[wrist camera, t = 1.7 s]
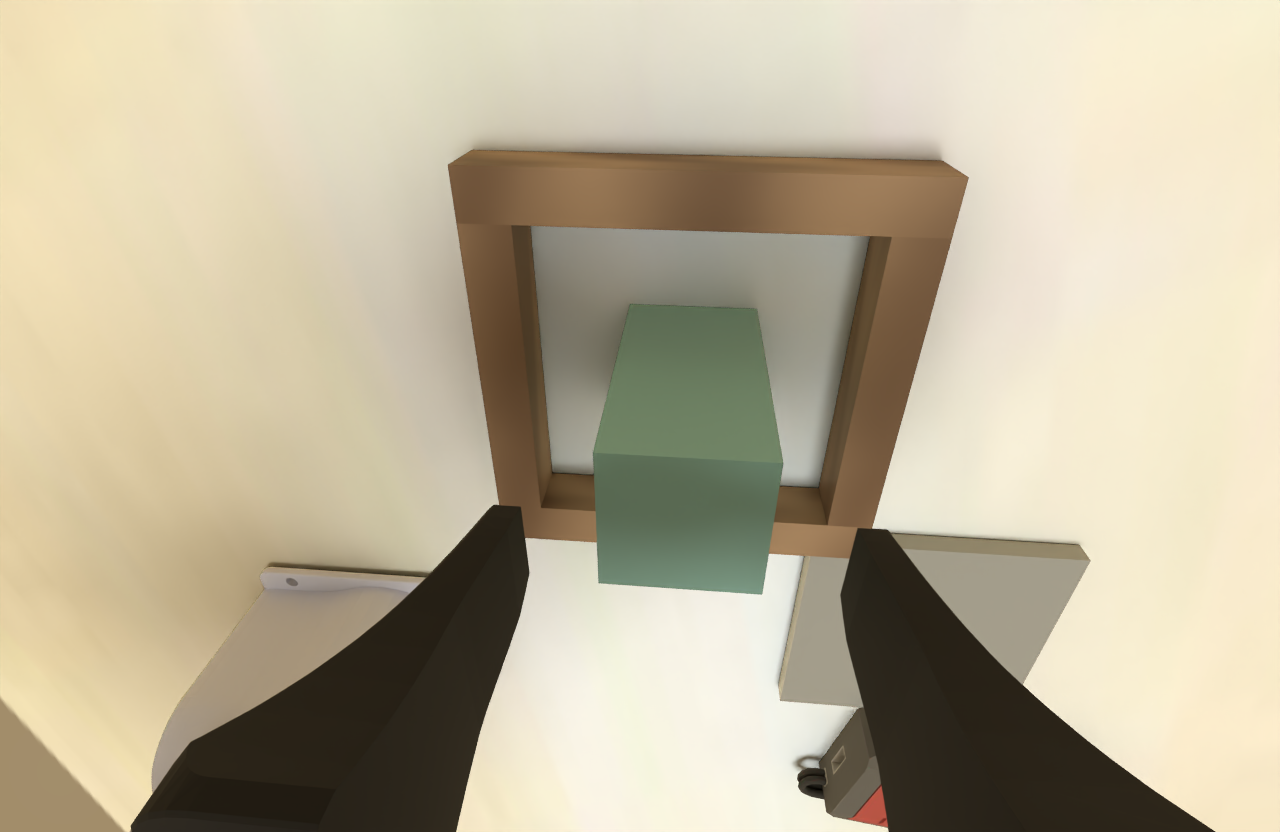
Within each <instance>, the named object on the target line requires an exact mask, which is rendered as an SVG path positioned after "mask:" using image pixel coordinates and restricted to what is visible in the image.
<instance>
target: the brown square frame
mask: <svg viewBox="0 0 1280 832" xmlns="http://www.w3.org/2000/svg"><path fill="white" fill-rule="evenodd" d="M448 170H449V177H450V183H451V190H452V196H453V203H454V210H455V216H456V223H457V229H458V236H459V243H460V249H461V256H462V262H463V269H464V276H465V282H466V289H467V295H468V302H469V309H470V315H471V322H472V328H473V335H474V341H475V348H476V355H477V361H478V368H479V374H480V381H481V388H482V394H483V401H484V407H485V414H486V421H487V427H488V434H489V440H490V447H491V454H492V460H493V467H494V473H495V480H496V487H497V493H498V500H499V505H504V506H519V507H521V511H522V519H523V527H524V535H525V538H537V539H553V540H568V541H584V542H597V533H596V510H595V487H594V476H593V475H576V474H559V473H552V466H551V454H550V443H549V432H548V421H547V409H546V398H545V387H544V376H543V364H542V353H541V342H540V331H539V319H538V308H537V297H536V285H535V274H534V263H533V252H532V240H531V229H530V226H555V227H587V228H620V229H653V230H685V231H718V232H751V233H784V234H816V235H849V236H870V240H869V245H868V250H867V255H866V259H865V264H864V269H863V274H862V279H861V284H860V289H859V294H858V299H857V303H856V308H855V313H854V318H853V323H852V328H851V333H850V338H849V343H848V347H847V352H846V357H845V362H844V367H843V372H842V377H841V382H840V387H839V391H838V396H837V401H836V406H835V411H834V416H833V421H832V426H831V431H830V435H829V440H828V445H827V450H826V455H825V460H824V465H823V470H822V474H821V479H820V484H819V488H802V487H785V486H780V487H779V493H778V499H777V505H776V511H775V518H774V524H773V530H772V536H771V542H770V549H769V554H784V555H800V556H815V557H831V558H846V559H850V555H851V551H852V547H853V544H854V540H855V536H856V532H857V528H869V529H872V526H873V523H874V519H875V516H876V512H877V508H878V505H879V501H880V497H881V494H882V490H883V486H884V483H885V479H886V476H887V472H888V468H889V465H890V461H891V457H892V454H893V450H894V447H895V443H896V439H897V436H898V432H899V428H900V425H901V421H902V418H903V414H904V410H905V407H906V403H907V399H908V396H909V392H910V389H911V385H912V381H913V378H914V374H915V370H916V367H917V363H918V360H919V356H920V352H921V349H922V345H923V341H924V338H925V334H926V331H927V327H928V323H929V320H930V316H931V312H932V309H933V305H934V302H935V298H936V294H937V291H938V287H939V283H940V280H941V276H942V273H943V269H944V265H945V262H946V258H947V254H948V251H949V247H950V244H951V240H952V236H953V233H954V229H955V225H956V222H957V218H958V215H959V211H960V207H961V204H962V200H963V196H964V193H965V189H966V186H967V182H968V178H969V177H967V176H966V175H964V174H962V173H961V172H959V171H958V170H956V169H955V168H953V167H952V166H950V165H949V164H947V163H946V162H944V161H932V160H887V159H842V158H798V157H753V156H709V155H664V154H620V153H575V152H531V151H486V150H471V151H469V152H468V153H466V154H465V155H463V156H461V157H460V158H458V159H457V160H455V161H453V162H452V163H450V164H449V165H448Z"/></svg>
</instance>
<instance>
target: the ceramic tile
mask: <svg viewBox="0 0 1280 832" xmlns="http://www.w3.org/2000/svg"><path fill="white" fill-rule="evenodd" d="M892 536H893V537H894V538H895V540H896V541H897V542H898V544H899V545H900V546H901V548H902V549H903V550H904V551H905V553H906V554H907V555H908V557H909V558H910V559H911V561H912V562H913V563H914V565H915V566H916V567H917V568H918V570H919V571H920V572H921V574H922V575H923V576H924V577H925V579H926V580H927V581H928V582H929V584H930V585H931V586H932V587H933V589H934V590H935V591H936V592H937V594H938V595H939V596H940V597H941V598H942V600H943V601H944V602H945V603H946V604H947V605H948V607H949V608H950V609H951V610H952V611H953V613H954V614H955V615H956V616H957V617H958V619H959V620H960V621H961V622H962V623H963V624H964V625H965V626H966V628H967V629H968V630H969V631H970V632H971V633H972V634H973V635H974V636H975V637H976V639H977V640H978V641H979V642H980V643H981V644H982V645H983V646H984V647H985V648H986V649H987V650H988V652H989V653H990V654H991V655H992V656H993V657H994V658H995V659H996V660H997V661H998V662H999V663H1000V664H1001V665H1002V666H1003V667H1004V668H1005V669H1006V670H1007V671H1008V672H1010V673H1011V674H1012V675H1013V676H1014V677H1015V678H1016V679H1017V680H1018V681H1019V682H1020V683H1021V684H1022V685H1023V683H1024V681H1025V679H1026V677H1027V676H1028V674H1029V672H1030V670H1031V668H1032V666H1033V665H1034V663H1035V661H1036V659H1037V657H1038V656H1039V654H1040V652H1041V650H1042V648H1043V646H1044V645H1045V643H1046V641H1047V639H1048V637H1049V636H1050V634H1051V632H1052V630H1053V628H1054V626H1055V625H1056V623H1057V621H1058V619H1059V617H1060V616H1061V614H1062V612H1063V610H1064V608H1065V606H1066V605H1067V603H1068V601H1069V599H1070V597H1071V596H1072V594H1073V592H1074V590H1075V588H1076V586H1077V585H1078V583H1079V581H1080V579H1081V577H1082V576H1083V574H1084V572H1085V570H1086V568H1087V566H1088V565H1089V563H1090V559H1089V558H1088V556H1087V555H1086V553H1085V552H1084V551H1083V549H1082V548H1081V546H1080V545H1069V544H1052V543H1036V542H1020V541H1004V540H988V539H972V538H955V537H939V536H923V535H907V534H892ZM848 563H849V559H846V558H831V557H815V556H805V558H804V562H803V567H802V572H801V577H800V582H799V587H798V592H797V597H796V602H795V606H794V611H793V616H792V621H791V626H790V631H789V636H788V641H787V646H786V650H785V655H784V660H783V665H782V670H781V675H780V680H779V685H778V687H779V696H780V701H789V702H801V703H814V704H826V705H839V706H851V707H863V703H862V699H861V695H860V692H859V688H858V684H857V680H856V677H855V673H854V669H853V665H852V661H851V657H850V653H849V649H848V645H847V641H846V635H845V628H844V621H843V613H842V605H841V597H840V593H841V590H842V586H843V582H844V578H845V574H846V570H847V567H848ZM863 708H864V707H863Z"/></svg>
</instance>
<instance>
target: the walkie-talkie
mask: <svg viewBox="0 0 1280 832" xmlns="http://www.w3.org/2000/svg"><path fill="white" fill-rule="evenodd" d="M819 767H820V769H819V768H807V769H805V770H802V771H801V772H800V773H799V774H798V777H797V780H798V782H799V785H798V788H799V789H800V791H801V792H802V793H804V794H806V795H809V796H811V797H815V798H820V799H824V800H825V807H826V812H827V813H828V814H830V815H832V816H833V817H838V818H842V819H847V820H852V821H857V822H862V823H867V824H872V825H877V826H882V827H887V828H888V823H887V817H886V810H885V804H884V798H883V792H882V786H881V780H880V774H879V768H878V763H877V758H876V754H875V749H874V745H873V741H872V737H871V733H870V729H869V726H868V722H867V718H866V714H865V711H864V708H863V707H862V708H858V710H857V711H856V712H855V714H854V715H853V716H852V718H851V719H850V721H849V722H848V723H847V725H846V726H845V728H844V729H843V730H842V732H841V733H840V734H839V736H838V737H837V739H836V740H835V741H834V743H833V744H832V746H831V747H830V748H829V750H828V751H827V753H826V754H825V755H824V757H823V758H822V759H821V761H820V762H819Z"/></svg>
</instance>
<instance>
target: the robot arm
mask: <svg viewBox="0 0 1280 832" xmlns="http://www.w3.org/2000/svg"><path fill="white" fill-rule="evenodd" d="M528 577H529V566H528V558H527V550H526V542H525V535H524V527H523V519H522V511H521V507H519V506H504V505H493V506H492V507H491V508H489V509H488V511H487V512H486V513H485V514H484V515H483V516H482V517H481V519H480V520H479V521H478V522H477V523H476V524H475V526H474V527H473V528H472V529H471V530H470V531H469V532H468V533H467V535H466V536H465V537H464V538H463V539H462V540H461V541H460V542H459V543H458V545H457V546H456V547H455V548H454V549H453V550H452V551H451V552H450V553H449V554H448V555H447V556H446V557H445V558H444V559H443V561H442V562H441V563H440V564H439V565H438V566H437V567H436V568H435V569H434V570H433V571H432V572H431V573H430V574H429V575H428V576H427V577H426V578H425V577H411V576H397V575H382V574H368V573H354V572H339V571H325V570H311V569H296V568H282V567H267V568H265V569H264V570H263V571H262V573H261V574H260V580H261V582H262V584H263V587H264V590H263V591H262V593H261V594H260V595H259V597H258V598H257V599H256V601H255V602H254V603H253V605H252V606H251V607H250V609H249V610H248V611H247V613H246V614H245V615H244V617H243V618H242V619H241V621H240V622H239V623H238V625H237V626H236V627H235V629H234V630H233V631H232V633H231V634H230V635H229V636H228V638H227V639H226V640H225V642H224V643H223V644H222V646H221V647H220V648H219V650H218V651H217V652H216V654H215V655H214V656H213V658H212V659H211V660H210V662H209V663H208V664H207V666H206V667H205V668H204V670H203V671H202V672H201V674H200V675H199V676H198V678H197V679H196V680H195V682H194V683H193V684H192V686H191V687H190V688H189V690H188V691H187V692H186V693H185V695H184V696H183V697H182V699H181V701H180V702H179V704H178V705H177V707H176V708H175V710H174V712H173V714H172V715H171V717H170V719H169V721H168V723H167V725H166V727H165V730H164V732H163V734H162V737H161V740H160V742H159V745H158V748H157V751H156V755H155V758H154V763H153V768H152V791H153V794H152V795H151V797H150V798H149V800H148V801H147V803H146V804H145V806H144V807H143V809H142V810H141V812H140V813H139V814H138V816H137V817H136V819H135V820H134V822H133V823H132V825H131V831H130V832H456V830H457V825H458V821H459V816H460V812H461V808H462V804H463V799H464V795H465V791H466V786H467V782H468V778H469V774H470V770H471V766H472V762H473V758H474V754H475V750H476V746H477V742H478V738H479V734H480V730H481V727H482V724H483V721H484V717H485V714H486V711H487V708H488V705H489V702H490V699H491V697H492V694H493V691H494V688H495V685H496V683H497V680H498V677H499V674H500V671H501V669H502V666H503V663H504V660H505V657H506V654H507V652H508V649H509V646H510V643H511V640H512V637H513V634H514V632H515V629H516V626H517V623H518V620H519V617H520V613H521V609H522V605H523V600H524V596H525V591H526V587H527V582H528ZM840 597H841V605H842V613H843V621H844V628H845V635H846V641H847V645H848V649H849V653H850V657H851V661H852V665H853V669H854V673H855V677H856V680H857V684H858V688H859V692H860V695H861V699H862V703H863V707H864V711H865V714H866V718H867V722H868V726H869V729H870V733H871V737H872V741H873V745H874V749H875V754H876V758H877V763H878V768H879V774H880V780H881V786H882V792H883V798H884V804H885V810H886V817H887V823H888V830H889V832H1215V831H1213V830H1212V829H1210V828H1209V827H1207V826H1206V825H1204V824H1203V823H1202V822H1200V821H1199V820H1197V819H1196V818H1194V817H1193V816H1191V815H1190V814H1188V813H1187V812H1185V811H1184V810H1182V809H1181V808H1179V807H1178V806H1176V805H1175V804H1173V803H1172V802H1170V801H1169V800H1167V799H1166V798H1164V797H1163V796H1161V795H1160V794H1158V793H1157V792H1155V791H1154V790H1152V789H1151V788H1150V787H1148V786H1147V785H1145V784H1144V783H1143V782H1141V781H1140V780H1139V779H1137V778H1136V777H1135V776H1133V775H1132V774H1131V773H1129V772H1128V771H1126V770H1125V769H1124V768H1122V767H1121V766H1120V765H1118V764H1117V763H1116V762H1114V761H1113V760H1112V759H1110V758H1109V757H1108V756H1106V755H1105V754H1104V753H1102V752H1101V751H1100V750H1099V749H1097V748H1096V747H1095V746H1093V745H1092V744H1091V743H1090V742H1088V741H1087V740H1086V739H1085V738H1083V737H1082V736H1081V735H1080V734H1079V733H1077V732H1076V731H1075V730H1074V729H1073V728H1071V727H1070V726H1069V725H1068V724H1067V723H1065V722H1064V721H1063V720H1062V719H1061V718H1059V717H1058V716H1057V715H1056V714H1055V713H1053V712H1052V711H1051V710H1050V709H1049V708H1048V707H1046V706H1045V705H1044V704H1043V703H1042V702H1041V701H1040V700H1038V699H1037V698H1036V697H1035V696H1034V695H1033V694H1032V693H1031V692H1030V691H1029V690H1028V689H1026V688H1025V687H1024V686H1023V685H1022V684H1021V683H1020V682H1019V681H1018V680H1017V679H1016V678H1015V677H1014V676H1013V675H1012V674H1011V673H1010V672H1008V671H1007V670H1006V669H1005V668H1004V667H1003V666H1002V665H1001V664H1000V663H999V662H998V661H997V660H996V659H995V658H994V657H993V656H992V655H991V654H990V653H989V652H988V650H987V649H986V648H985V647H984V646H983V645H982V644H981V643H980V642H979V641H978V640H977V639H976V637H975V636H974V635H973V634H972V633H971V632H970V631H969V630H968V629H967V628H966V626H965V625H964V624H963V623H962V622H961V621H960V620H959V619H958V617H957V616H956V615H955V614H954V613H953V611H952V610H951V609H950V608H949V607H948V605H947V604H946V603H945V602H944V601H943V600H942V598H941V597H940V596H939V595H938V594H937V592H936V591H935V590H934V589H933V587H932V586H931V585H930V584H929V582H928V581H927V580H926V579H925V577H924V576H923V575H922V574H921V572H920V571H919V570H918V568H917V567H916V566H915V565H914V563H913V562H912V561H911V559H910V558H909V557H908V555H907V554H906V553H905V551H904V550H903V549H902V548H901V546H900V545H899V544H898V542H897V541H896V540H895V538H894V537H893V536H892V534H891V533H890V532H889V531H888V530H884V529H869V528H857V532H856V536H855V540H854V544H853V547H852V551H851V555H850V559H849V563H848V567H847V570H846V574H845V578H844V582H843V586H842V590H841V593H840Z"/></svg>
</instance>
